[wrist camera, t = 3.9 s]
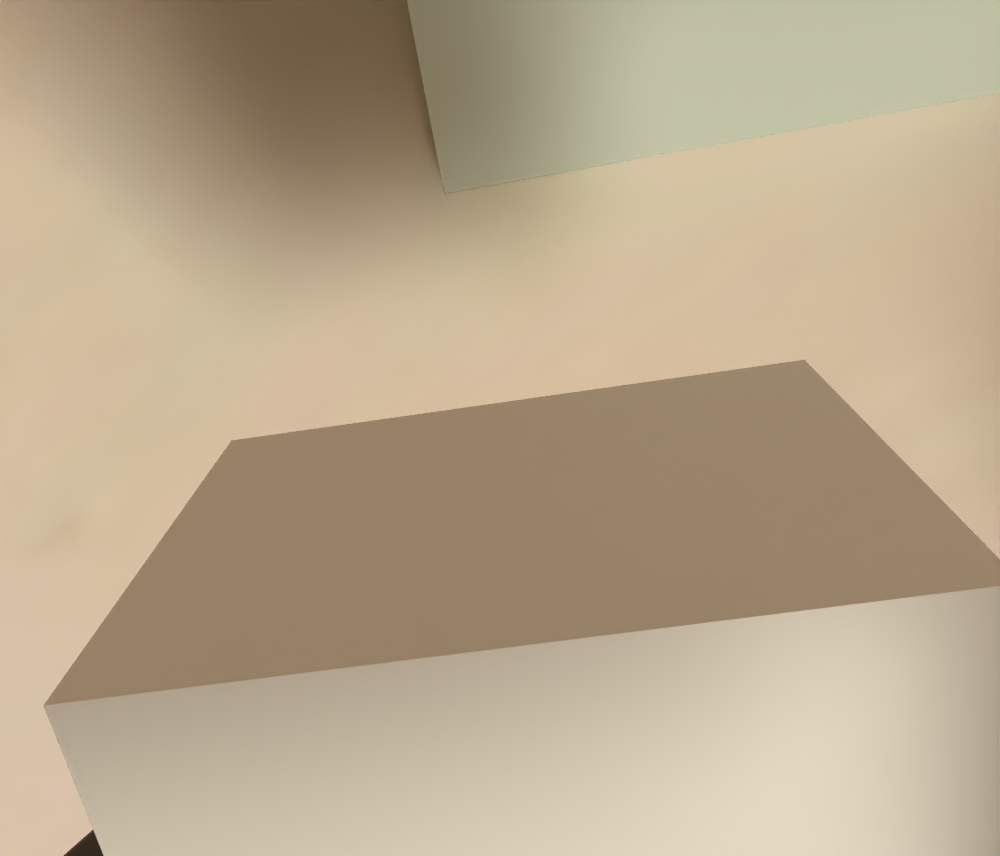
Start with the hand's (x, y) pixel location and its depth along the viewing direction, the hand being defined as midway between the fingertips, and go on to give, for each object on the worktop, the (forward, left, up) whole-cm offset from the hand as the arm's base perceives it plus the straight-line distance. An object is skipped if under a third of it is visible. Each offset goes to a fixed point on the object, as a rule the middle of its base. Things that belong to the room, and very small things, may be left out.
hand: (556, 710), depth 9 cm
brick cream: (0, 0, -1) cm, 1 cm away
